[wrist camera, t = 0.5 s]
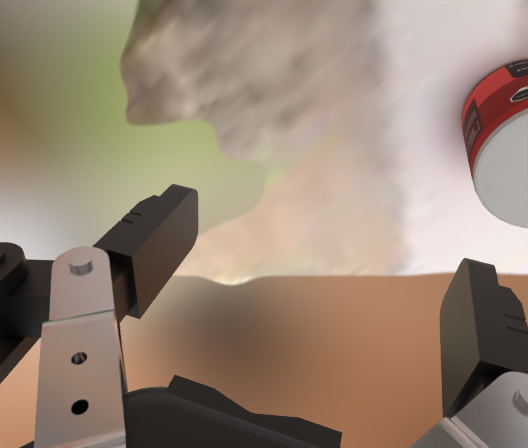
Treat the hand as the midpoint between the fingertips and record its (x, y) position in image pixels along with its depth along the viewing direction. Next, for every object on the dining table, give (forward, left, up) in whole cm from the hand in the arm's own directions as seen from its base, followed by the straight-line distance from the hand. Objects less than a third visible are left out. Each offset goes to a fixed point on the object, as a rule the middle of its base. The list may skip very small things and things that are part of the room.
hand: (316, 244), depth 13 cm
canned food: (+2, +11, -26) cm, 28 cm away
